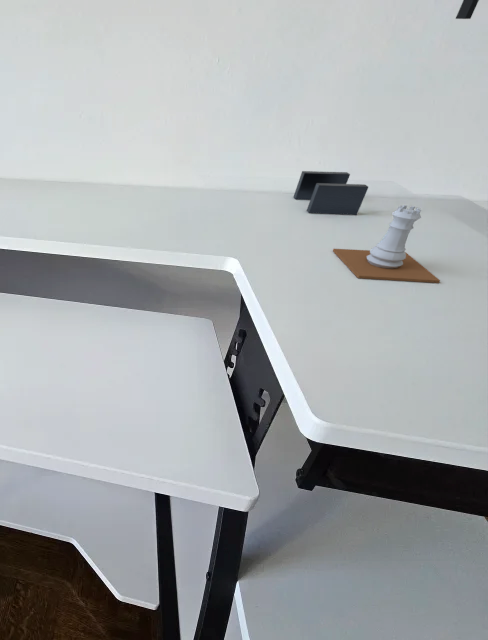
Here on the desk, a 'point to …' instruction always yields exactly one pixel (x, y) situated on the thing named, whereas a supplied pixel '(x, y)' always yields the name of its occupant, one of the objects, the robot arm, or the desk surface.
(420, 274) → the mat
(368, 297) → the desk surface
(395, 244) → the rook chess piece
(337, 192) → the stand
